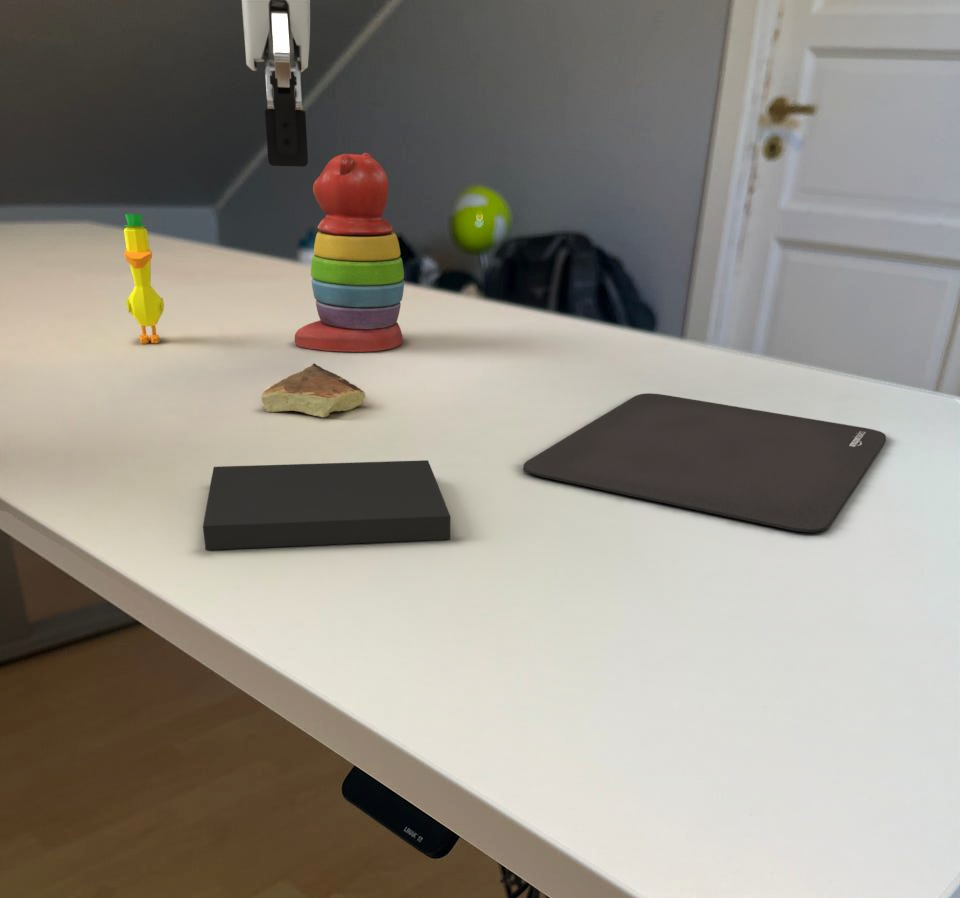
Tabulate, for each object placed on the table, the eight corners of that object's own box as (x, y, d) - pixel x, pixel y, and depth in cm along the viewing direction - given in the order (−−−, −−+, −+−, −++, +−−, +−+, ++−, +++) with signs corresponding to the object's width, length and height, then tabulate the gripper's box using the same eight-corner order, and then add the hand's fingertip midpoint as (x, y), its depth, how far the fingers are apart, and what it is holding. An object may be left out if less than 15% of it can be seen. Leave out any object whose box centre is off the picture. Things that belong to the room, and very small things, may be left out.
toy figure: (167, 348, 97) (150, 218, 91) (129, 349, 96) (110, 218, 90) (168, 334, 103) (152, 210, 97) (132, 335, 102) (115, 210, 96)
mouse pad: (822, 537, 59) (822, 533, 59) (513, 471, 68) (513, 468, 68) (889, 434, 78) (890, 431, 78) (642, 393, 87) (642, 390, 87)
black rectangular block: (205, 550, 55) (202, 525, 54) (215, 488, 64) (213, 466, 63) (450, 539, 57) (450, 516, 57) (428, 481, 66) (428, 459, 65)
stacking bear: (343, 327, 108) (336, 148, 99) (423, 338, 104) (423, 153, 96) (286, 346, 99) (273, 151, 91) (372, 358, 96) (367, 157, 87)
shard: (314, 379, 88) (313, 359, 87) (393, 388, 87) (393, 367, 86) (258, 411, 79) (256, 389, 78) (344, 421, 77) (344, 398, 77)
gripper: (227, -85, 81) (246, 156, 90) (215, -124, 66) (239, 169, 75) (318, -79, 82) (328, 158, 91) (326, -116, 67) (337, 171, 76)
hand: (288, 160), depth 83 cm, fingers open, 6 cm apart
